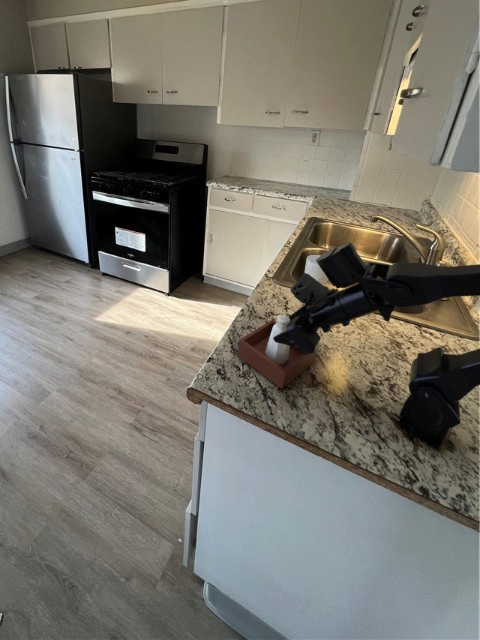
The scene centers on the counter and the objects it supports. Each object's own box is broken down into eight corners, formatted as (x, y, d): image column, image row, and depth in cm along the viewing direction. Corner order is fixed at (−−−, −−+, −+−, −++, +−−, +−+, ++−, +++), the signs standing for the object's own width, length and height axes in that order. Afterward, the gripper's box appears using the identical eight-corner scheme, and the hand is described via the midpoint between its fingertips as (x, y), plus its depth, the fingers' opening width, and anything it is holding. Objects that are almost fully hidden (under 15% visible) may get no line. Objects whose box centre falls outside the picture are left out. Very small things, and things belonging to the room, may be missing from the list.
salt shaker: (267, 346, 76) (273, 308, 71) (290, 353, 74) (298, 314, 69) (262, 360, 72) (268, 321, 67) (286, 368, 70) (294, 328, 65)
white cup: (299, 280, 107) (304, 253, 103) (323, 282, 106) (329, 256, 102) (303, 292, 100) (309, 264, 96) (328, 294, 99) (336, 267, 95)
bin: (314, 361, 73) (318, 346, 71) (281, 389, 65) (285, 372, 63) (270, 333, 81) (272, 319, 79) (237, 355, 74) (238, 339, 72)
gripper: (334, 252, 66) (277, 281, 77) (306, 288, 52) (242, 318, 63) (366, 296, 65) (304, 320, 76) (346, 345, 52) (273, 365, 62)
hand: (282, 328), depth 69 cm, fingers open, 9 cm apart
